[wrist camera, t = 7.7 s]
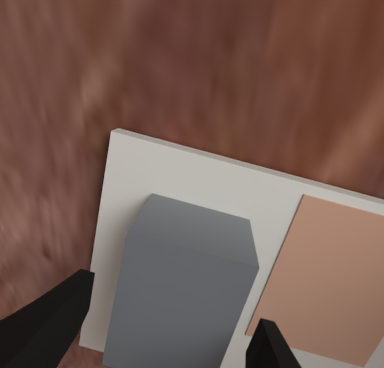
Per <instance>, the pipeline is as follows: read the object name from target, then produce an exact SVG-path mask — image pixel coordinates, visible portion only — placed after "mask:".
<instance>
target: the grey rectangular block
mask: <svg viewBox="0 0 384 368" xmlns="http://www.w3.org/2000/svg"><path fill="white" fill-rule="evenodd" d="M258 271H259V263H258V258H257V253H256V248H255V244H254V239H253V234H252V229H251V224H250V220H249V219H246V218H242V217H239V216H235V215H231V214H227V213H224V212H220V211H216V210H213V209H209V208H205V207H202V206H198V205H194V204H191V203H187V202H183V201H180V200H176V199H172V198H169V197H165V196H161V195H157V194H154V193H152V194H151V196H150V197H149V199H148V200H147V202H146V203H145V205H144V207H143V208H142V210H141V211H140V213H139V214H138V216H137V217H136V219H135V221H134V222H133V224H132V225H131V227H130V228H129V230H128V231H127V235H126V241H125V246H124V251H123V256H122V261H121V266H120V271H119V277H118V282H117V287H116V292H115V297H114V302H113V307H112V313H111V318H110V323H109V328H108V333H107V338H106V343H105V349H104V354H103V359H102V364H101V365H104V366H107V367H111V368H220V366H221V363H222V361H223V358H224V356H225V353H226V351H227V348H228V346H229V343H230V341H231V338H232V336H233V333H234V331H235V328H236V326H237V323H238V321H239V318H240V316H241V313H242V311H243V308H244V306H245V303H246V301H247V298H248V296H249V293H250V291H251V288H252V286H253V283H254V281H255V278H256V276H257V273H258Z"/></svg>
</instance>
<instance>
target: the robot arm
mask: <svg viewBox="0 0 384 368" xmlns="http://www.w3.org/2000/svg"><path fill="white" fill-rule="evenodd" d="M94 277H95V273H94V272H90V271H87V270H83V269H80V270H79V271H77V272H76V273H74V274H73V275H72V276H70V277H69V278H67V279H66V280H65V281H63V282H62V283H60V284H59V285H57V286H56V287H55V288H53V289H52V290H50V291H49V292H47V293H46V294H44V295H43V296H41V297H39V298H38V299H36V300H35V301H33V302H32V303H30V304H28V305H27V306H25V307H23V308H22V309H20V310H18V311H17V312H15V313H13V314H11V315H10V316H8V317H6V318H4V319H2V320H0V368H56V367H57V366H58V364H59V362H60V361H61V359H62V358H63V356H64V355H65V353H66V351H67V350H68V348H69V347H70V345H71V343H72V342H73V340H74V339H75V337H76V335H77V334H78V332H79V330H80V328H81V326H82V324H83V322H84V320H85V318H86V316H87V314H88V312H89V308H90V302H91V296H92V290H93V283H94ZM245 368H302V367H301V366H300V364H299V362H298V361H297V359H296V357H295V356H294V354H293V352H292V351H291V349H290V347H289V346H288V344H287V342H286V340H285V339H284V337H283V335H282V333H281V332H280V330H279V328H278V326H277V325H276V323H275V322H274V321H271V320H267V319H263V318H260V320H259V322H258V325H257V327H256V329H255V332H254V334H253V336H252V339H251V341H250V343H249V346H248V348H247V350H246V355H245Z"/></svg>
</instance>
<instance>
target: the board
mask: <svg viewBox="0 0 384 368" xmlns="http://www.w3.org/2000/svg"><path fill="white" fill-rule="evenodd" d="M152 193H154V194H157V195H161V196H165V197H169V198H172V199H176V200H180V201H183V202H187V203H191V204H194V205H198V206H202V207H205V208H209V209H213V210H216V211H220V212H224V213H227V214H231V215H235V216H239V217H242V218H246V219H249V220H250V224H251V229H252V234H253V239H254V244H255V248H256V253H257V258H258V263H259V271H258V273H257V276H256V278H255V281H254V283H253V286H252V288H251V291H250V293H249V296H248V298H247V301H246V303H245V306H244V308H243V311H242V313H241V316H240V318H239V321H238V323H237V326H236V328H235V331H234V333H233V336H232V338H231V341H230V343H229V346H228V348H227V351H226V353H225V356H224V358H223V361H222V363H221V366H220V368H245V355H246V350H247V348H248V346H249V343H250V341H251V339H252V336H253V334H254V332H255V329H256V327H257V325H258V322H259V320H260V318H263V319H267V320H271V321H274V322H275V323H276V325H277V326H278V328H279V330H280V332H281V333H282V335H283V337H284V339H285V340H286V342H287V344H288V346H289V347H290V349H291V351H292V352H293V354H294V356H295V357H296V359H297V361H298V362H299V364H300V366H301V367H302V368H384V200H383V199H380V198H376V197H372V196H368V195H365V194H361V193H357V192H354V191H350V190H346V189H342V188H339V187H335V186H331V185H328V184H324V183H320V182H316V181H313V180H309V179H305V178H302V177H298V176H294V175H290V174H287V173H283V172H279V171H276V170H272V169H268V168H264V167H261V166H257V165H253V164H250V163H246V162H242V161H239V160H235V159H231V158H227V157H224V156H220V155H216V154H213V153H209V152H205V151H201V150H198V149H194V148H190V147H187V146H183V145H179V144H175V143H172V142H168V141H164V140H161V139H157V138H153V137H149V136H146V135H142V134H138V133H135V132H131V131H127V130H123V129H120V128H118V129H115V130H113V131H111V136H110V142H109V149H108V156H107V162H106V169H105V175H104V182H103V189H102V195H101V202H100V209H99V215H98V222H97V228H96V235H95V242H94V248H93V255H92V262H91V268H90V272H94V273H95V277H94V283H93V290H92V296H91V302H90V308H89V312H88V314H87V316H86V318H85V320H84V322H83V324H82V328H81V335H80V341H79V346H83V347H86V348H90V349H93V350H97V351H101V352H104V349H105V343H106V338H107V333H108V328H109V323H110V318H111V313H112V307H113V302H114V297H115V292H116V287H117V282H118V277H119V271H120V266H121V261H122V256H123V251H124V246H125V241H126V235H127V231H128V230H129V228H130V227H131V225H132V224H133V222H134V221H135V219H136V217H137V216H138V214H139V213H140V211H141V210H142V208H143V207H144V205H145V203H146V202H147V200H148V199H149V197H150V196H151V194H152Z"/></svg>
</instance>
